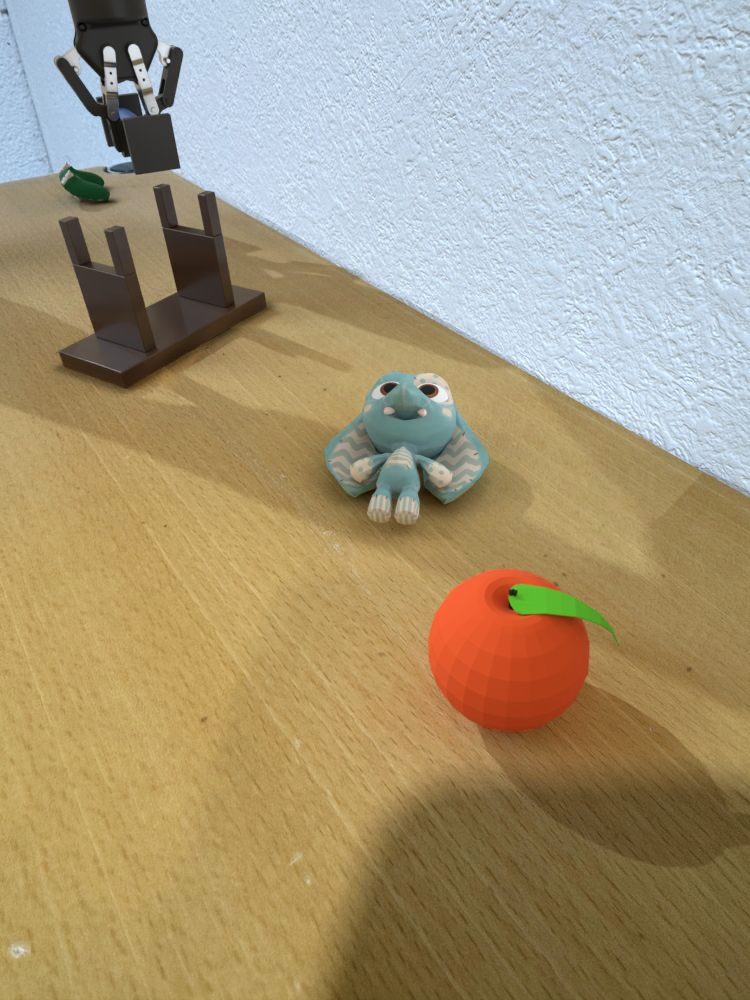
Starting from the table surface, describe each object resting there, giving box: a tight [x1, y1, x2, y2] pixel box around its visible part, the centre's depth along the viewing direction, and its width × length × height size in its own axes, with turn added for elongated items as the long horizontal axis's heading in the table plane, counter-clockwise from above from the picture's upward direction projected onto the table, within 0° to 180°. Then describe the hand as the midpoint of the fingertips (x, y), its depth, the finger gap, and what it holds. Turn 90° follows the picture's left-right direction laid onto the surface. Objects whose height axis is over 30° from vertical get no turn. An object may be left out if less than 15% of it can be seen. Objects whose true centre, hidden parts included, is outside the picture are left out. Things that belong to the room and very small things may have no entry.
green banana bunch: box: [58, 161, 111, 202], centre depth 100 cm, size 9×4×6 cm
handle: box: [95, 92, 182, 176], centre depth 78 cm, size 16×5×5 cm, turn 27°
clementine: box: [427, 568, 620, 733], centre depth 30 cm, size 8×7×7 cm
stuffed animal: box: [323, 371, 490, 526], centre depth 44 cm, size 11×7×12 cm
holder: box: [58, 183, 268, 389], centre depth 61 cm, size 18×8×12 cm, turn 147°
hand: (140, 153), depth 79 cm, fingers closed on handle, 3 cm apart
